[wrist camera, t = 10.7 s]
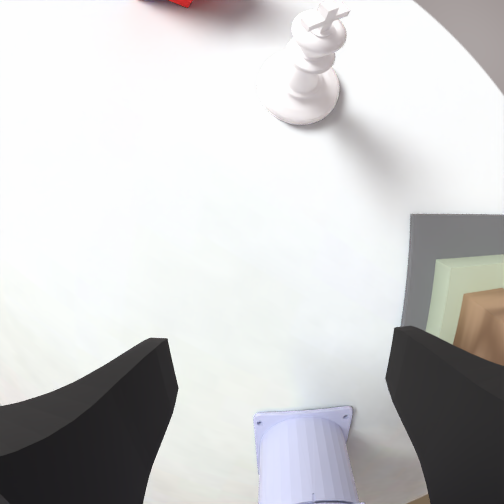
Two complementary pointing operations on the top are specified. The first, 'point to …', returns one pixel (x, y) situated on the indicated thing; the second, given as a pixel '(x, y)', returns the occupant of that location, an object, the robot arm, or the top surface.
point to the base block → (460, 289)
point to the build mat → (444, 253)
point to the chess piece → (305, 67)
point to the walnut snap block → (482, 325)
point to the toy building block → (182, 2)
